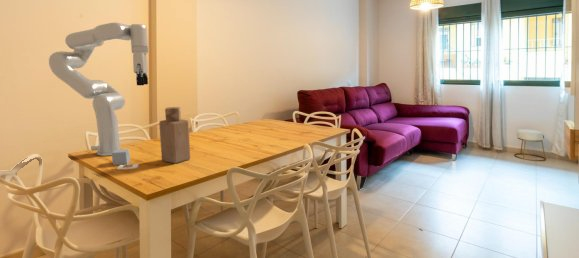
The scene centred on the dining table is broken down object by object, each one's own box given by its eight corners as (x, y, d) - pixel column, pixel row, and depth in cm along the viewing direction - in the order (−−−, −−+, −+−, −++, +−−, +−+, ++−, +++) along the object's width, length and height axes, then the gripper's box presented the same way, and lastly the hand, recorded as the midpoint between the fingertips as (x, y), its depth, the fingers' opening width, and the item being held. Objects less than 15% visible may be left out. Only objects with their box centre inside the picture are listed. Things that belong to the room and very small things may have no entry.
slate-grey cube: (113, 165, 151) (111, 152, 150) (116, 161, 157) (115, 149, 156) (126, 164, 152) (125, 152, 151) (130, 161, 158) (129, 149, 157)
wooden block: (174, 164, 152) (171, 122, 148) (161, 161, 157) (158, 120, 154) (191, 159, 160) (189, 119, 157) (177, 156, 166) (175, 118, 162)
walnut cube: (165, 121, 152) (165, 108, 151) (168, 119, 157) (167, 107, 156) (179, 121, 153) (178, 108, 152) (180, 119, 159) (180, 107, 157)
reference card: (117, 169, 144) (117, 167, 144) (120, 166, 149) (120, 164, 149) (136, 168, 146) (136, 166, 146) (139, 165, 151) (138, 163, 150)
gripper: (136, 51, 168) (138, 84, 172) (127, 49, 152) (130, 85, 155) (151, 51, 170) (153, 84, 173) (144, 49, 153) (147, 85, 157)
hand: (142, 84), depth 164 cm, fingers open, 9 cm apart
